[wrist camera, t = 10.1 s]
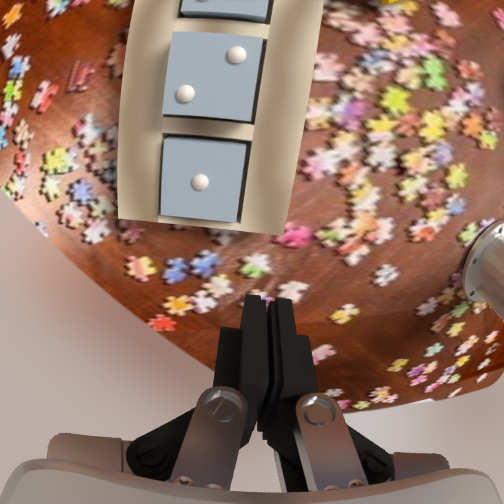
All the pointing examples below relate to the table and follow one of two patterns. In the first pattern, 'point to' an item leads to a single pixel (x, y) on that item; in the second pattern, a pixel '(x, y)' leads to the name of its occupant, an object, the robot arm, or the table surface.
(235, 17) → the tile three
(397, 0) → the toy gun
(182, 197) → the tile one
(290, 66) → the board
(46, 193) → the table surface
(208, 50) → the tile two
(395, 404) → the table surface
